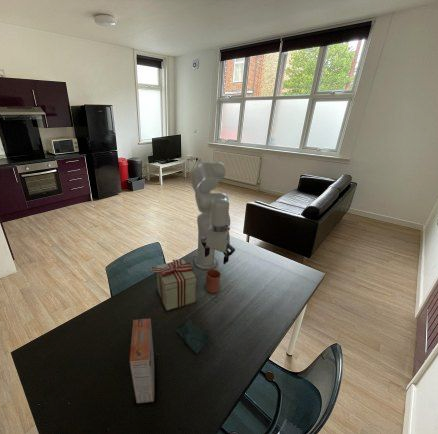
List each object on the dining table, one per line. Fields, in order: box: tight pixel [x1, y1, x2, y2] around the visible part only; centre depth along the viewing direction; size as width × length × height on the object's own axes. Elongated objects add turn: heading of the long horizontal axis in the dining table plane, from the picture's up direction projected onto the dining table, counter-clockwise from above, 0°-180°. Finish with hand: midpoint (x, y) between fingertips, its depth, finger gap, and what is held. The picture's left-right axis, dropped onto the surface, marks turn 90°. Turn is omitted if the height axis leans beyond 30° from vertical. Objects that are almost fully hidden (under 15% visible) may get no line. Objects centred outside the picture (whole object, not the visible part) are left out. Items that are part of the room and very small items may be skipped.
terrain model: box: [174, 319, 212, 354], centre depth 94 cm, size 13×8×2 cm, turn 40°
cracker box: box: [129, 317, 155, 404], centre depth 75 cm, size 14×6×21 cm, turn 5°
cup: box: [205, 268, 221, 294], centre depth 117 cm, size 7×7×9 cm
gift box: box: [151, 258, 198, 311], centre depth 112 cm, size 17×18×17 cm
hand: (216, 259), depth 111 cm, fingers open, 9 cm apart
